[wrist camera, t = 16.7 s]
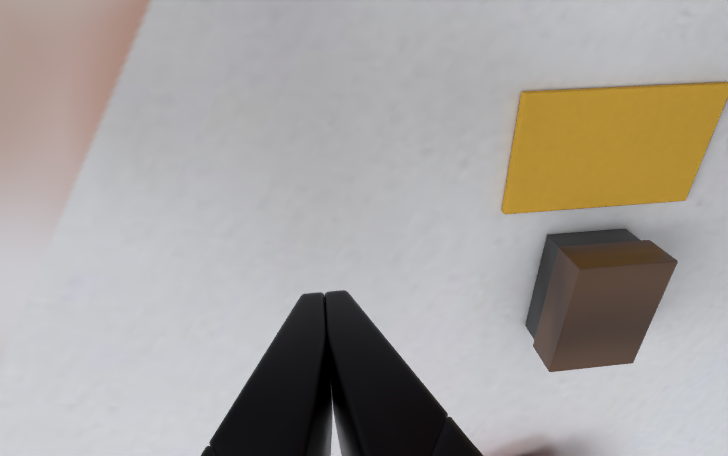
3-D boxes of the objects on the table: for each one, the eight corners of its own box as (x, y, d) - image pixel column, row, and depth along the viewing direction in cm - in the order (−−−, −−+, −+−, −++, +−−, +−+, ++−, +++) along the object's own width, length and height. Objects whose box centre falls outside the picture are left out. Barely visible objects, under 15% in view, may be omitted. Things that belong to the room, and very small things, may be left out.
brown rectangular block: (544, 231, 23) (580, 269, 20) (630, 225, 23) (679, 260, 20) (521, 328, 26) (549, 372, 23) (596, 320, 27) (633, 363, 24)
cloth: (501, 210, 22) (504, 214, 21) (521, 91, 19) (525, 93, 18) (680, 197, 23) (685, 200, 22) (726, 81, 20) (734, 83, 19)
